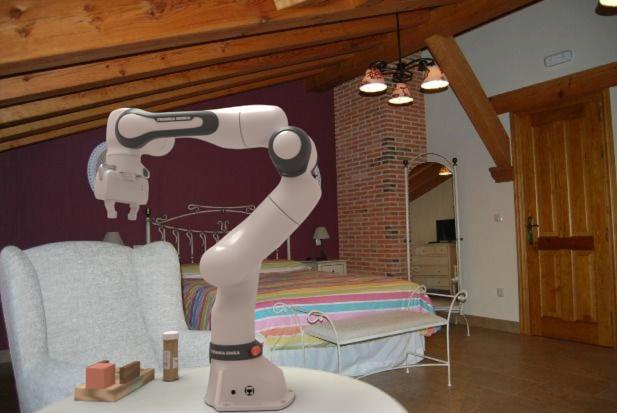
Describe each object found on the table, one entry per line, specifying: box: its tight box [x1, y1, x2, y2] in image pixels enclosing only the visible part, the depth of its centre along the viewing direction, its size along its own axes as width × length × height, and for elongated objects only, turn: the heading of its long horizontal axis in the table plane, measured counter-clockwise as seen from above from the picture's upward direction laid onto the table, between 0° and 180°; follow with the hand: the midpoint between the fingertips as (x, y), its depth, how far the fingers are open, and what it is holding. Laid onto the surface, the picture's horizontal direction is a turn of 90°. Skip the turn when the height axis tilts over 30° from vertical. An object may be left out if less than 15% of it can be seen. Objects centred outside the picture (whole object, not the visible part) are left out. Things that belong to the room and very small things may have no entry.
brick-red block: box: [85, 362, 117, 389], centre depth 118 cm, size 5×5×5 cm
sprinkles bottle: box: [162, 330, 180, 382], centre depth 133 cm, size 5×5×13 cm
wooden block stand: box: [74, 359, 156, 403], centre depth 125 cm, size 11×20×7 cm, turn 170°
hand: (122, 219), depth 123 cm, fingers open, 8 cm apart
